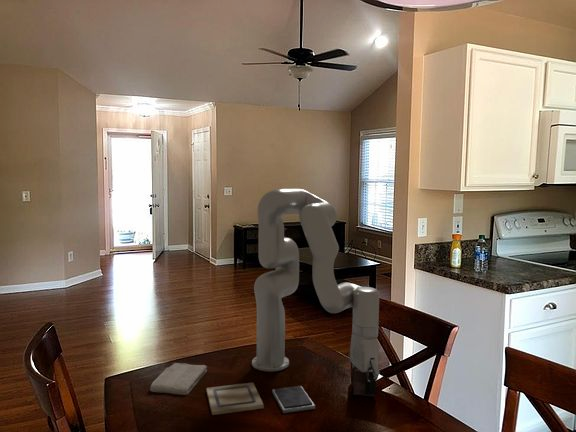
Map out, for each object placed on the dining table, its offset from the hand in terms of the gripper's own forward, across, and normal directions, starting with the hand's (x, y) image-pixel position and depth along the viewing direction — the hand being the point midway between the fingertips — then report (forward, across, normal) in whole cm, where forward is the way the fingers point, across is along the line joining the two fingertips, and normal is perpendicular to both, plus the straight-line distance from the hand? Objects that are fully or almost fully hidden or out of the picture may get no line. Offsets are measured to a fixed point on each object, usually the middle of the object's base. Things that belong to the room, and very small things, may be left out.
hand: (363, 386), depth 134 cm
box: (+2, 0, 0) cm, 2 cm away
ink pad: (+1, 0, -22) cm, 22 cm away
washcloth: (+2, -21, -52) cm, 56 cm away
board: (+1, -5, -38) cm, 38 cm away
